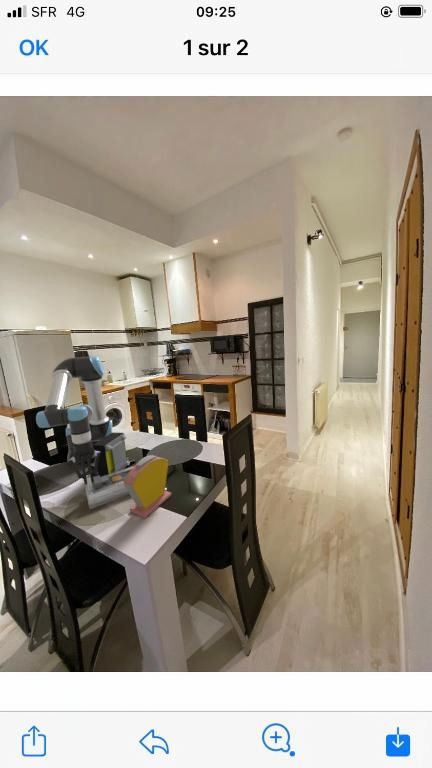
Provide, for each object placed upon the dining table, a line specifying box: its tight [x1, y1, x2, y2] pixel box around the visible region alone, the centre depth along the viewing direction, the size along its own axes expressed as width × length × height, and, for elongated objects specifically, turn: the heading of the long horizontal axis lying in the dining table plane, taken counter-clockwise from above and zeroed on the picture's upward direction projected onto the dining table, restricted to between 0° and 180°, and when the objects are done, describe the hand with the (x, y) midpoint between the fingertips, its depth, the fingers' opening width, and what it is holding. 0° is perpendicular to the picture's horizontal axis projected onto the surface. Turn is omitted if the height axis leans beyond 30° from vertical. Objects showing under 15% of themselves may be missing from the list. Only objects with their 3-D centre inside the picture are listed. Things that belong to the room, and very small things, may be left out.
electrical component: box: [92, 432, 130, 477], centre depth 137 cm, size 18×10×20 cm, turn 168°
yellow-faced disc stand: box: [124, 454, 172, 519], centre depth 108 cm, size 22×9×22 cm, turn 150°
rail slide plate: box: [84, 465, 135, 510], centre depth 120 cm, size 14×26×7 cm, turn 123°
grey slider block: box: [93, 475, 109, 490], centre depth 116 cm, size 7×6×5 cm
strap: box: [102, 475, 127, 487], centre depth 121 cm, size 6×16×2 cm, turn 123°
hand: (90, 489), depth 114 cm, fingers closed
